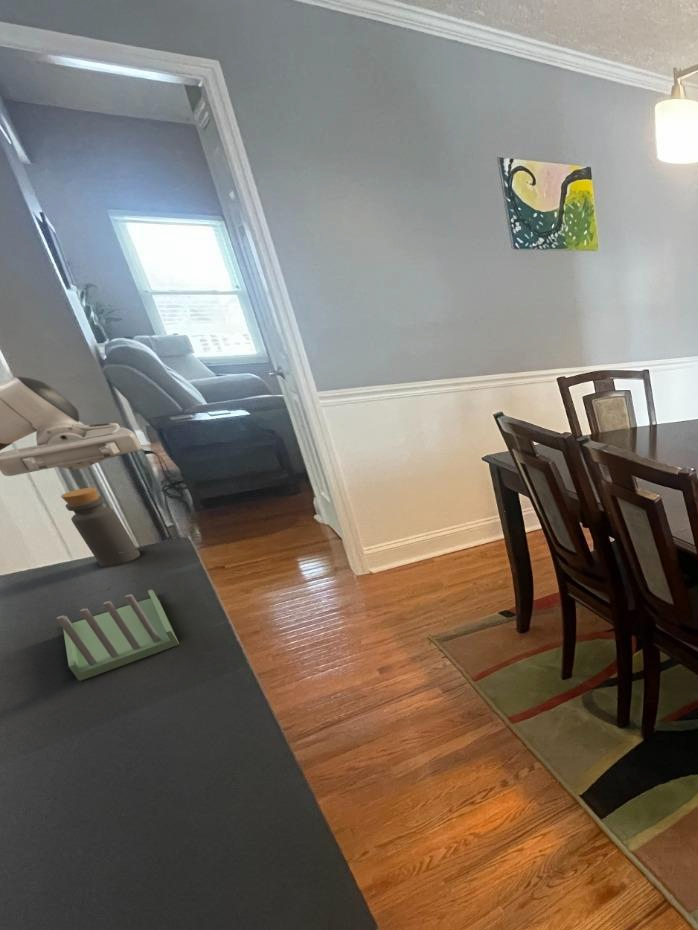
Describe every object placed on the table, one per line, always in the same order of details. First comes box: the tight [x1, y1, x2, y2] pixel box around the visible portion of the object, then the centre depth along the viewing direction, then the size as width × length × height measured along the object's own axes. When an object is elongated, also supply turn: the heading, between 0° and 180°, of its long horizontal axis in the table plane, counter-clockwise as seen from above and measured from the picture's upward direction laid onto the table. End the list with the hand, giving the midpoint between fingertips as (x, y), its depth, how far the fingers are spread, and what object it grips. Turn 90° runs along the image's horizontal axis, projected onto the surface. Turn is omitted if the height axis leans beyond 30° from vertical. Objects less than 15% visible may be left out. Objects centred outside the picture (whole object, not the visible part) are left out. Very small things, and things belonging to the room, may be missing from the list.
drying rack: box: [56, 589, 180, 682], centre depth 91 cm, size 11×20×9 cm, turn 48°
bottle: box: [60, 487, 141, 567], centre depth 114 cm, size 6×6×15 cm
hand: (74, 459), depth 116 cm, fingers open, 8 cm apart
